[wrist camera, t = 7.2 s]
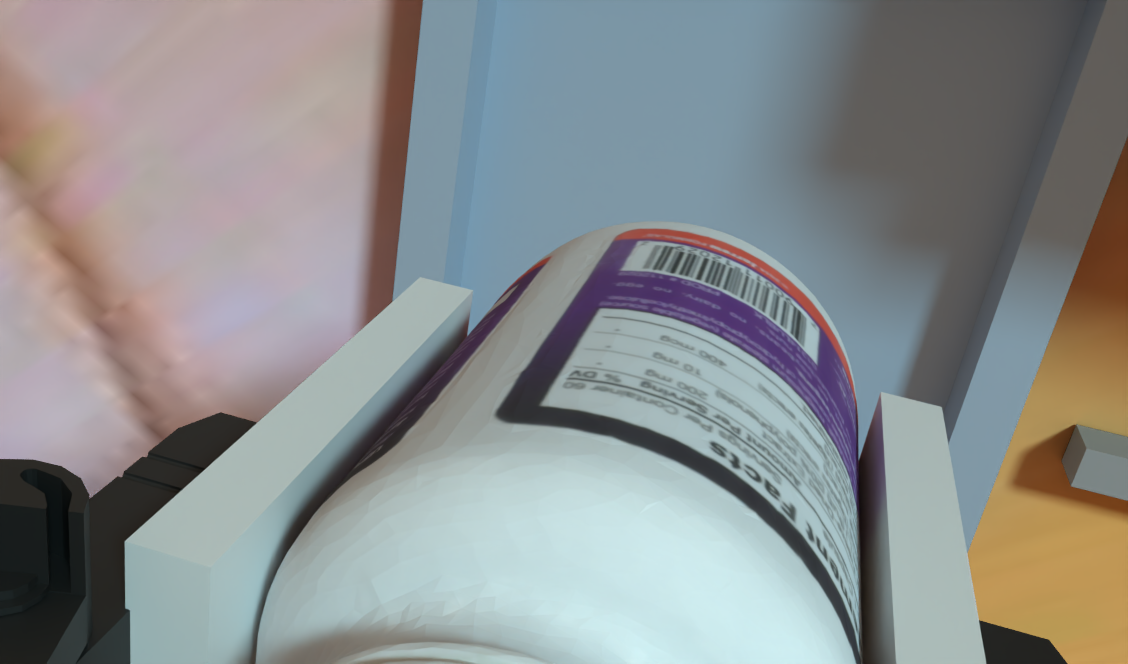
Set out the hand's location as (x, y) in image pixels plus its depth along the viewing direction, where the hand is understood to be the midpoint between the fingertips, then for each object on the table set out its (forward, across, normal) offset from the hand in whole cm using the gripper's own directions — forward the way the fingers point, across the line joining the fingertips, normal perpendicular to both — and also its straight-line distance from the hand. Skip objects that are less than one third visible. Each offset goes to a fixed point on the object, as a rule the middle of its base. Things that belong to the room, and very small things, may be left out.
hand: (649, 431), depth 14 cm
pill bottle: (+2, 0, 0) cm, 2 cm away
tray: (+12, 0, 0) cm, 12 cm away
